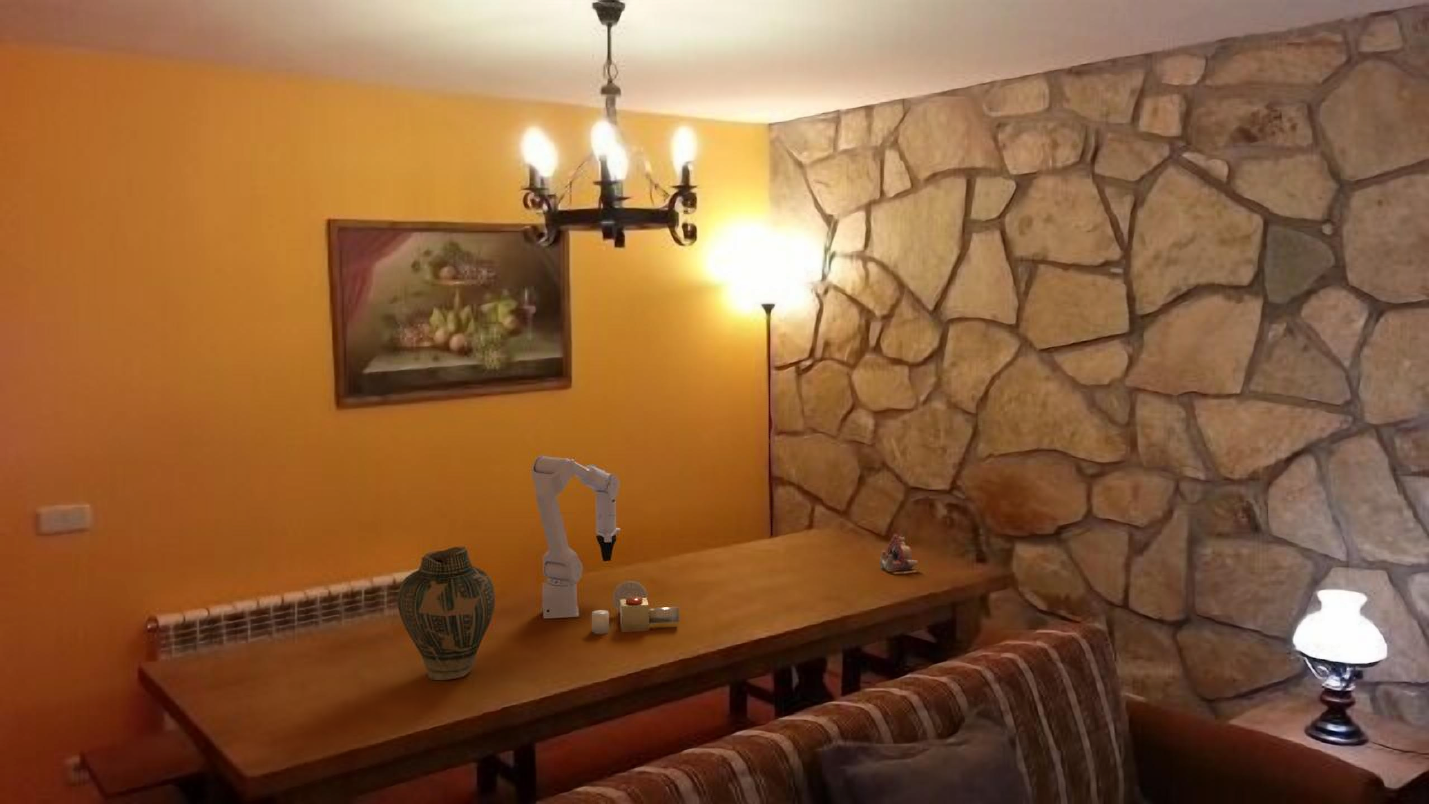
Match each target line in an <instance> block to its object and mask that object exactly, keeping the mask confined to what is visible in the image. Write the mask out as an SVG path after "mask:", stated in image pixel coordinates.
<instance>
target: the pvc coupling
mask: <svg viewBox="0 0 1429 804" xmlns="http://www.w3.org/2000/svg"><path fill="white" fill-rule="evenodd" d="M609 617H610V612H609V611H608V610H605V609H598V610H597V609H596V610H593V611H592V612H591V632H592V634H597V635H605V634H608V633H609V632H610V619H609Z"/></svg>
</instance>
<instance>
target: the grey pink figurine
mask: <svg viewBox="0 0 1429 804" xmlns="http://www.w3.org/2000/svg"><path fill="white" fill-rule="evenodd" d="M905 539H906V538H905V536H903V537H902V536H898V534H896V533H895V534H893V536H892V538H891V540H889V543H888V545H887V548H886V550H887V551H886V550H882V552H881V556H880V558H879V565H880V567H881V569H883V570H884V571H886V572H888V573H893V574H895V575H899V574H909V573H916V572H918V571H917V570H911V569H913V567H915V566H917V565H918V563H919V562H918V560H916V559H915V560H914V559H912V555H913V554H912V553H913V552H912V549H911V547H909V546H908V545H906V542H905ZM886 552H887V554H886Z"/></svg>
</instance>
